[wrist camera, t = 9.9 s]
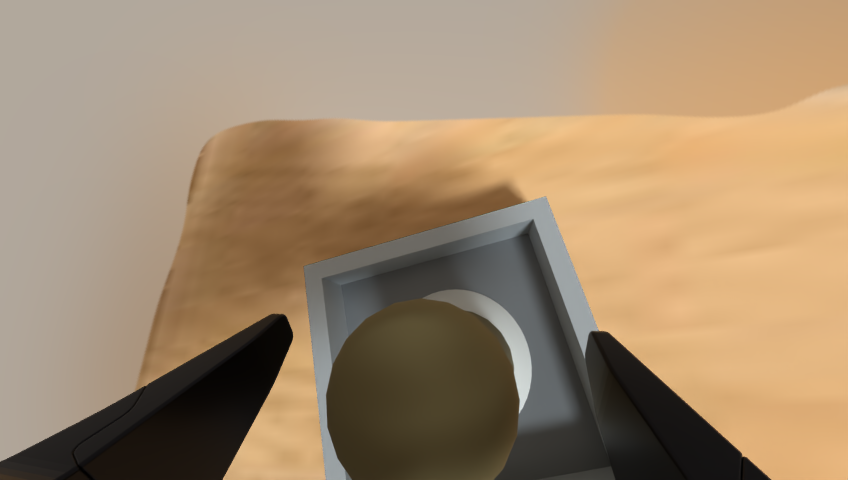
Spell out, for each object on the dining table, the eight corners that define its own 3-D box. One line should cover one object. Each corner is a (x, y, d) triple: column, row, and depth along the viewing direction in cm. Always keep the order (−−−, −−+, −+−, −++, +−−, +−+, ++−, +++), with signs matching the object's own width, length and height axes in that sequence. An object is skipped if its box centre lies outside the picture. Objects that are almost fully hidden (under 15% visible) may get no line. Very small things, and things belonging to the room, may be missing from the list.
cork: (533, 408, 16) (601, 533, 6) (422, 442, 17) (308, 608, 7) (489, 295, 18) (485, 241, 8) (391, 328, 19) (269, 319, 9)
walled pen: (638, 482, 15) (671, 516, 12) (361, 530, 17) (335, 569, 14) (538, 216, 20) (545, 196, 17) (328, 275, 21) (303, 266, 19)
